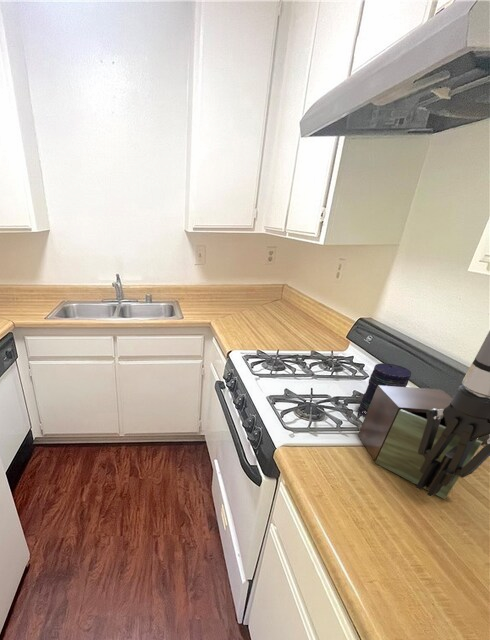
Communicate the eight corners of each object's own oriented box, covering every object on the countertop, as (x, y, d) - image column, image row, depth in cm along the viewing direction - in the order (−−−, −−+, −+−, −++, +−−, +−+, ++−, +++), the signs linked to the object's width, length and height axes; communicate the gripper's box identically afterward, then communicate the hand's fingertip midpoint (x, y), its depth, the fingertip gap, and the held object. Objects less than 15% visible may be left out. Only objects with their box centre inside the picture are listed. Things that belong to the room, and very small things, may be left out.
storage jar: (395, 423, 105) (416, 378, 97) (360, 418, 107) (378, 373, 99) (387, 408, 113) (407, 365, 105) (355, 403, 115) (371, 361, 107)
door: (432, 511, 74) (469, 453, 66) (361, 471, 85) (385, 417, 76) (446, 497, 78) (482, 441, 70) (376, 461, 89) (401, 408, 80)
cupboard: (438, 465, 88) (470, 412, 79) (374, 460, 89) (399, 407, 80) (414, 439, 98) (441, 389, 89) (357, 435, 99) (377, 385, 90)
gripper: (549, 405, 57) (474, 507, 70) (453, 371, 67) (404, 465, 81) (527, 415, 54) (453, 519, 67) (430, 378, 65) (383, 474, 78)
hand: (426, 489), depth 74 cm, fingers closed on door, 2 cm apart
